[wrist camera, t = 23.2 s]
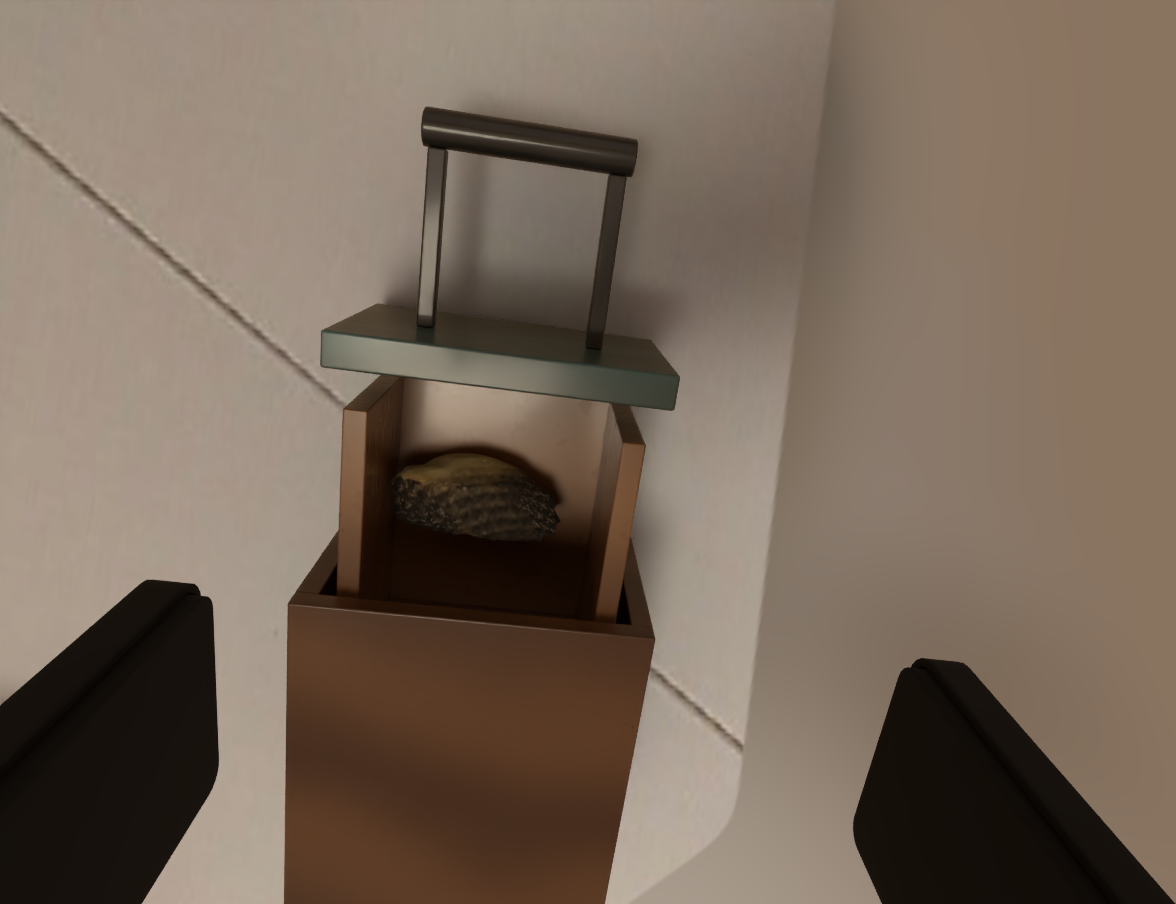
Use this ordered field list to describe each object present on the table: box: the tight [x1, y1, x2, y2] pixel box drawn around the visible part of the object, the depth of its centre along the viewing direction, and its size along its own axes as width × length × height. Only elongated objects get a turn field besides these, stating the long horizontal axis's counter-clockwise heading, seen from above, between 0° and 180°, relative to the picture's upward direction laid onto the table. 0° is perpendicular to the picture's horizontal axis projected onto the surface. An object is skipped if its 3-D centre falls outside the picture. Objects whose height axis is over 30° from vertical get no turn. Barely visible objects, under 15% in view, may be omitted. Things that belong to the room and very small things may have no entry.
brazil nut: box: [390, 453, 561, 542], centre depth 29 cm, size 6×5×3 cm
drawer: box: [320, 107, 680, 624], centre depth 27 cm, size 21×11×7 cm, turn 172°
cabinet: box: [284, 530, 655, 904], centre depth 31 cm, size 15×13×9 cm
